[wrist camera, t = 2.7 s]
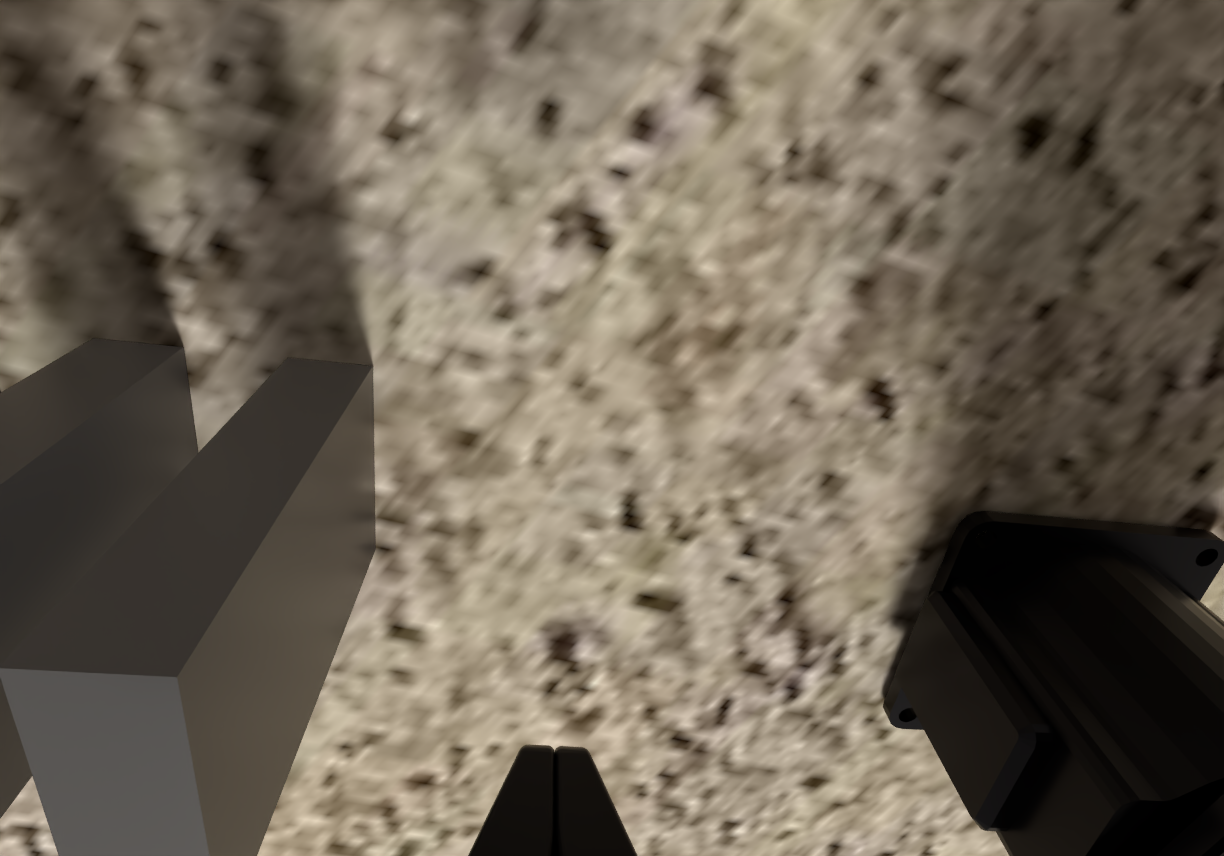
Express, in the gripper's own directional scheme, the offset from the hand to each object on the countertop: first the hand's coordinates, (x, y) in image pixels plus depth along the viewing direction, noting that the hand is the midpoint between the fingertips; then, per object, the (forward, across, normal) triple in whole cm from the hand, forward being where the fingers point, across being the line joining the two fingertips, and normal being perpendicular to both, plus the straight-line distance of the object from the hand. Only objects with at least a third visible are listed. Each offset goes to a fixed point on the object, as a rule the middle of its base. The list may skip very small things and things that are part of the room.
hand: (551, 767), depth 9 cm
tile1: (+7, +5, 0) cm, 9 cm away
